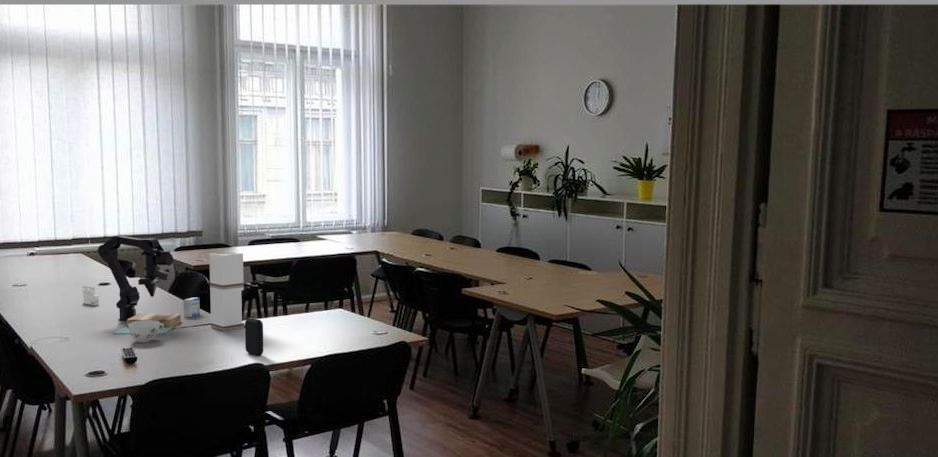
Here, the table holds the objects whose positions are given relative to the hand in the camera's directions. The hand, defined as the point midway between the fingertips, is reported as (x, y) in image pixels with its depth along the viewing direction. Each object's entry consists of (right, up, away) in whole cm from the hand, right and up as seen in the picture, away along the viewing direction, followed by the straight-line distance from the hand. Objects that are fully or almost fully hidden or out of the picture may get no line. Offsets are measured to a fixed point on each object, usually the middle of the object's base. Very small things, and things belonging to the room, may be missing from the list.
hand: (152, 296), depth 382 cm
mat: (+4, -14, -21) cm, 25 cm away
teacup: (+14, -16, -39) cm, 45 cm away
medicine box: (+14, -11, +15) cm, 23 cm away
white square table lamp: (+40, -14, -12) cm, 44 cm away
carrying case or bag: (+66, -18, -62) cm, 93 cm away
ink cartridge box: (-51, -8, +44) cm, 68 cm away
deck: (+4, -13, -8) cm, 16 cm away
